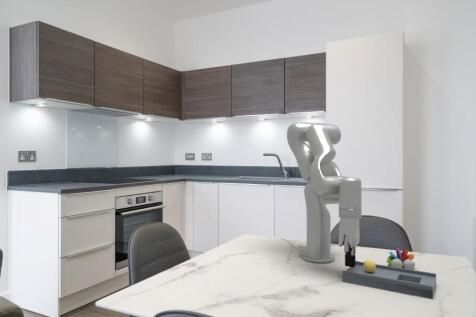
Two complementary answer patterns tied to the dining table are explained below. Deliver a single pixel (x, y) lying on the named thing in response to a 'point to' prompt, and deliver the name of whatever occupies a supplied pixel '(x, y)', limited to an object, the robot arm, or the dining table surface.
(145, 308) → the dining table surface
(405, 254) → the rainbow white-lobed toy
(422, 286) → the tray
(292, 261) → the dining table surface
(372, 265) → the ball
